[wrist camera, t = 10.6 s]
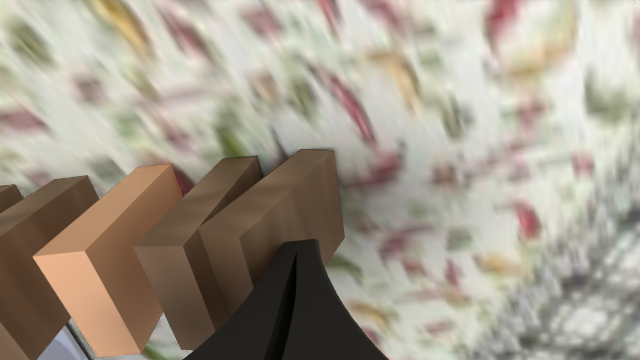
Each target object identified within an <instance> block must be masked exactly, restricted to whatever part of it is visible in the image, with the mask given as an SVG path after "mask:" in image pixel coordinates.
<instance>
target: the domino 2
mask: <svg viewBox="0 0 640 360" xmlns="http://www.w3.org/2000/svg"><path fill="white" fill-rule="evenodd" d="M182 198H183V195H182V192H181V189H180V187H179V184H178V181H177V178H176V176H175V173H174V170H173V167H172V164H171V163H170V164H162V165H154V166H146V167H138V168H136V169H135V170H134V171H133V172H131V173H130V174H129V175H128V176H127V177H126V178H124V179H123V180H122V181H121V182H120V183H118V184H117V185H116V186H115V187H114V188H113V189H111V190H110V191H109V192H108V193H107V194H106V195H104V196H103V197H102V198H101V199H100V200H98V201H97V202H96V203H95V204H94V205H93V206H91V207H90V208H89V209H88V210H87V211H86V212H84V213H83V214H82V215H81V216H80V217H78V218H77V219H76V220H75V221H74V222H73V223H71V224H70V225H69V226H68V227H67V228H65V229H64V230H63V231H62V232H61V233H60V234H58V235H57V236H56V237H55V238H54V239H53V240H51V241H50V242H49V243H48V244H47V245H45V246H44V247H43V248H42V249H41V250H40V251H38V252H37V253H36V254H35V255H34V256H33V258H34V260H35V261H36V263H37V265H38V266H39V268H40V269H41V271H42V272H43V274H44V275H45V277H46V278H47V280H48V282H49V283H50V285H51V286H52V288H53V289H54V291H55V292H56V294H57V296H58V297H59V299H60V300H61V302H62V303H63V305H64V306H65V308H66V309H67V311H68V313H69V314H70V316H71V317H72V319H73V320H74V322H75V323H76V325H77V327H78V328H79V330H80V331H81V333H82V334H83V336H84V337H85V339H86V341H87V342H88V344H89V345H90V347H91V348H92V350H93V351H94V353H95V354H96V356H97V357H106V356H118V355H129V354H141V353H142V351H143V349H144V347H145V346H146V344H147V342H148V340H149V338H150V336H151V334H152V332H153V330H154V328H155V327H156V325H157V323H158V321H159V319H160V317H161V315H162V313H163V310H162V307H161V305H160V303H159V301H158V299H157V297H156V295H155V293H154V290H153V288H152V286H151V284H150V282H149V280H148V278H147V275H146V273H145V271H144V269H143V267H142V265H141V263H140V260H139V258H138V256H137V254H136V252H135V250H134V248H133V246H134V245H135V244H136V243H137V242H138V241H139V240H140V239H141V238H142V237H143V236H144V235H145V234H146V233H147V232H148V231H149V230H150V229H151V228H152V227H153V226H154V225H155V224H156V223H157V222H158V221H159V220H161V219H162V218H163V217H164V216H165V215H166V214H167V213H168V212H169V211H170V210H171V209H172V208H173V207H174V206H175V205H176V204H177V203H178V202H179V201H180V200H181V199H182Z"/></svg>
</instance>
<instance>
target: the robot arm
mask: <svg viewBox="0 0 640 360" xmlns="http://www.w3.org/2000/svg"><path fill="white" fill-rule="evenodd" d="M37 360H88V358H87V357H86V355H85V354H84V352H83V351H82V349H81V348H80V346H79V345H78V343H77V342H76V340H75V339H74V337H73V336H72V334H71V333H70V331H69V330H68V328H67V327H66V325H65V326H64V327H63V328H62V330H61V331H60V332H59V333H58V334H57V336H56V337H55V338H54V339H53V341H52V342H51V343H50V344H49V345H48V347H47V348H46V349H45V350H44V352H43V353H42V354H41V355H40V356H39V358H38V359H37ZM183 360H389V359H388V358H387V357H386V356H385V355H384V354H383V353H382V352H381V351H380V350H379V349H378V348H377V347H376V346H375V345H374V344H373V343H372V341H371V340H370V339H369V338H368V337H367V336H366V335H365V333H364V332H363V331H362V329H361V328H360V327H359V326H358V324H357V323H356V322H355V321H354V319H353V318H352V317H351V315H350V314H349V312H348V311H347V309H346V308H345V306H344V305H343V303H342V301H341V300H340V298H339V296H338V295H337V293H336V291H335V289H334V287H333V285H332V283H331V281H330V279H329V277H328V275H327V272H326V270H325V268H324V265H323V262H322V258H321V252H320V246H319V241H318V240H316V239H308V240H299V241H289V242H284V243H283V244H282V245H281V247H280V249H279V250H278V252H277V254H276V256H275V257H274V259H273V261H272V262H271V264H270V265H269V267H268V269H267V270H266V272H265V273H264V275H263V276H262V278H261V279H260V281H259V282H258V283H257V285H256V286H255V287H254V289H253V290H252V291H251V293H250V294H249V295H248V297H247V298H246V299H245V300H244V302H243V303H242V304H241V305H240V306H239V308H238V309H237V310H236V311H235V312H234V313H233V314H232V316H231V317H230V318H229V319H228V320H227V321H226V322H225V323H224V324H223V325H222V326H221V327H220V328H219V329H218V330H217V331H216V332H215V333H213V334H212V335H211V336H210V337H209V338H208V339H207V340H206V341H205V342H204V343H202V344H201V345H200V346H199V347H198V348H197V349H195V350H194V351H193V352H192V353H190V354H189V355H188V356H187V357H185V358H184V359H183Z"/></svg>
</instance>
